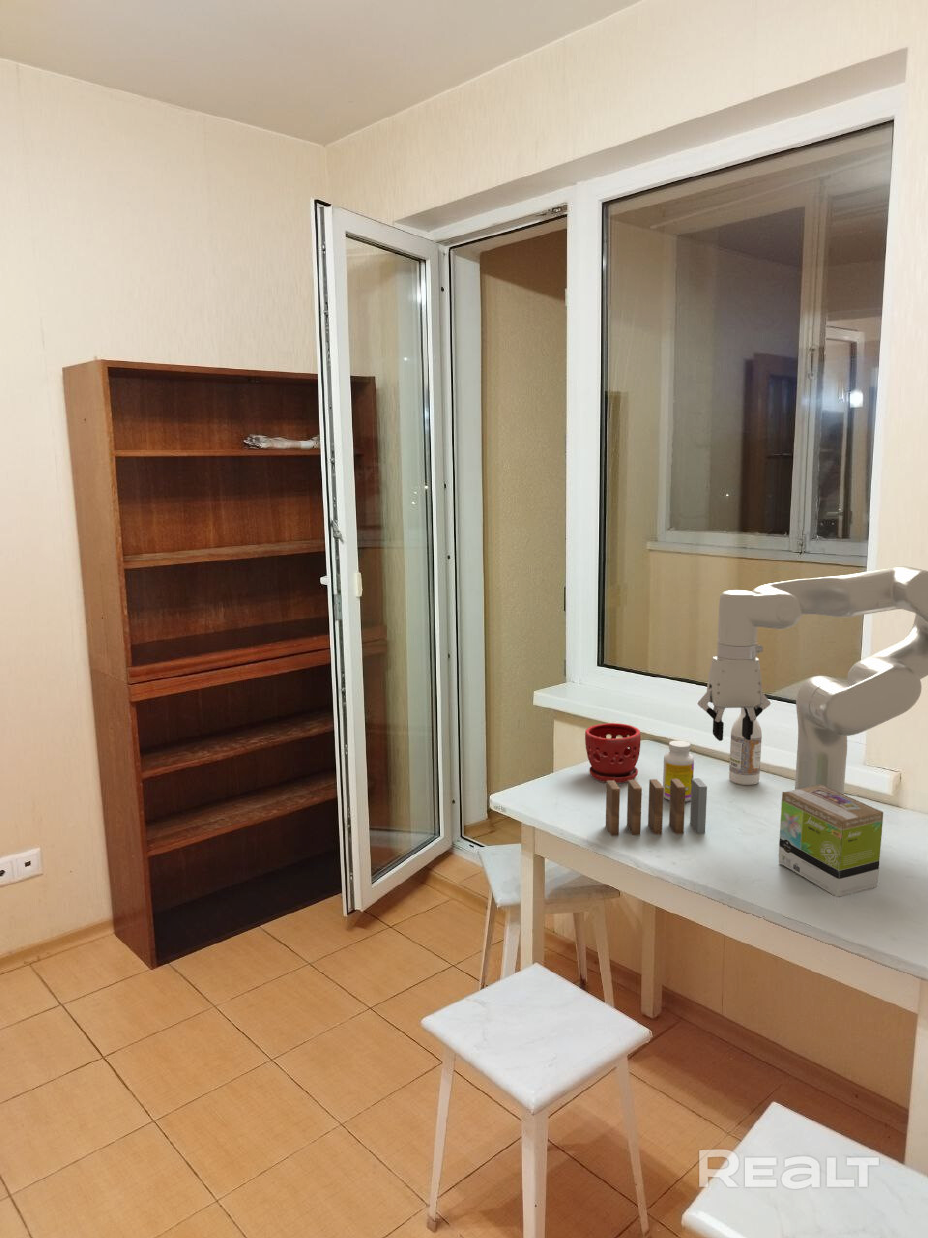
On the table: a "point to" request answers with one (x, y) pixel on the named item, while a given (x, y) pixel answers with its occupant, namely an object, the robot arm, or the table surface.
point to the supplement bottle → (678, 767)
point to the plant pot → (613, 751)
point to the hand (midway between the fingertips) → (732, 737)
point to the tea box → (830, 839)
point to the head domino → (698, 805)
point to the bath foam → (745, 753)
